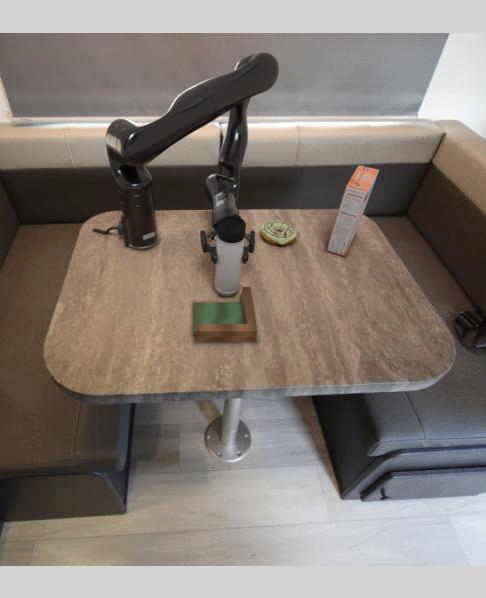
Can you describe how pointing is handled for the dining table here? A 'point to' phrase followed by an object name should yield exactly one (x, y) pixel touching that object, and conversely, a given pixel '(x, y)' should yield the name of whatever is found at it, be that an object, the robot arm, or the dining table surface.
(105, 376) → the dining table surface
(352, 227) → the cracker box
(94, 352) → the dining table surface
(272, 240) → the decorated donut
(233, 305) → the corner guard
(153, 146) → the robot arm
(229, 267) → the travel mug
